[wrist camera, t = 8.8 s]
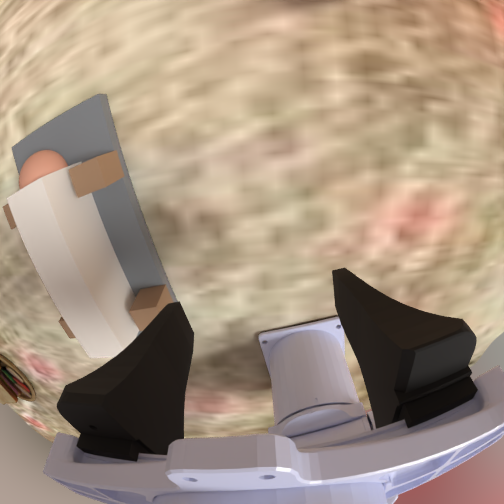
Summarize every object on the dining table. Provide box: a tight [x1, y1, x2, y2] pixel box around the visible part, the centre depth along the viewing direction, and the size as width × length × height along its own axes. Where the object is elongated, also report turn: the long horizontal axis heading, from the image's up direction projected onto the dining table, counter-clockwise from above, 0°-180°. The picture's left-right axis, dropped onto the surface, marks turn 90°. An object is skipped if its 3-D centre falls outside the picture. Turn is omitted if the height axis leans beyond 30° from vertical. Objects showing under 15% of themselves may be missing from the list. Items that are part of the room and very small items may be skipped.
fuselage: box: [7, 150, 139, 358], centre depth 18 cm, size 16×4×5 cm, turn 13°
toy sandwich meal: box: [0, 355, 36, 404], centre depth 30 cm, size 12×14×5 cm
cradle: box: [3, 94, 178, 338], centre depth 20 cm, size 22×10×4 cm, turn 13°
